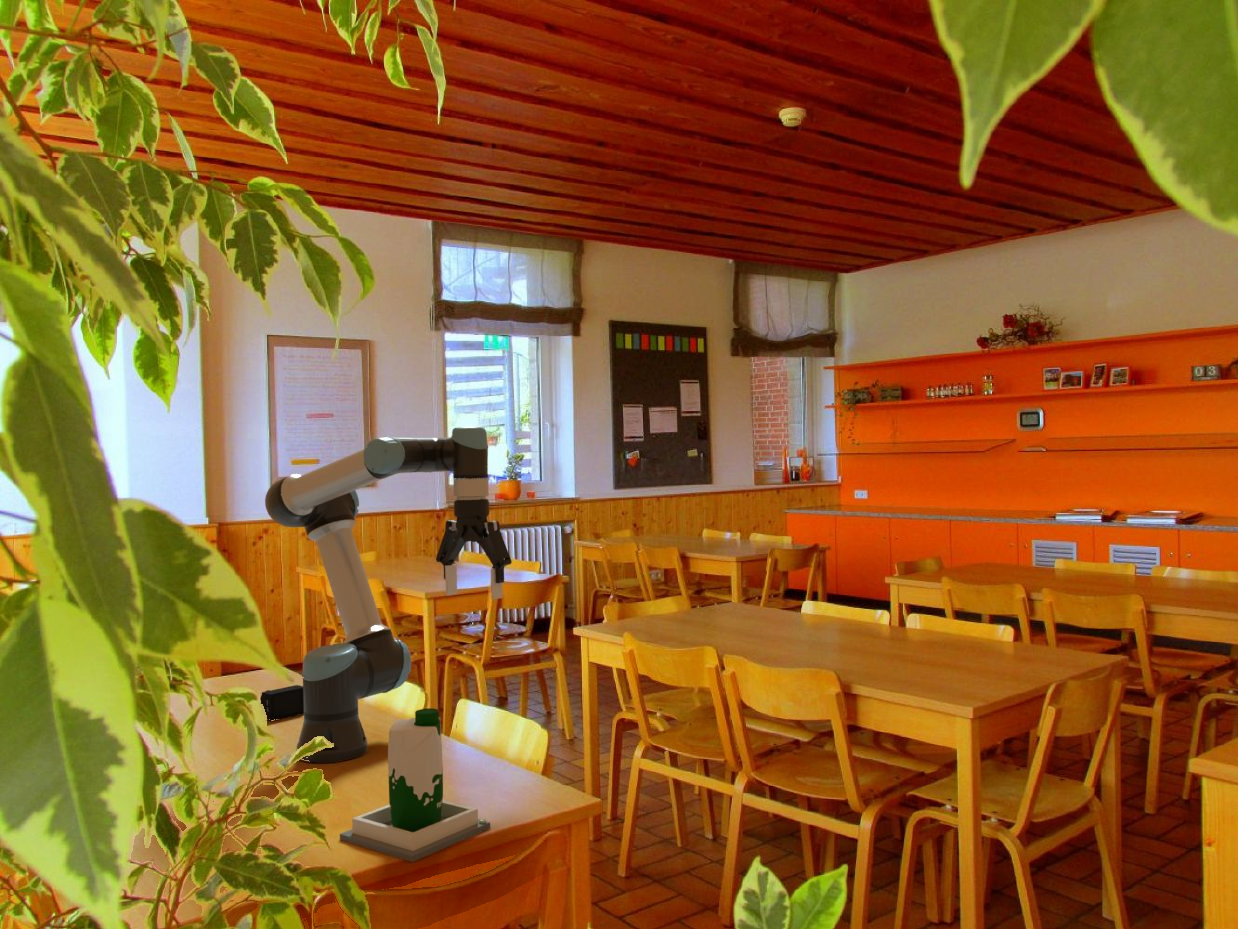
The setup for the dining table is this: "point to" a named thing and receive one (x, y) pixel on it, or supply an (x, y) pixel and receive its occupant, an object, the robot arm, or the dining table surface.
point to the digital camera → (283, 702)
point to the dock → (413, 846)
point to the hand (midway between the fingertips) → (473, 596)
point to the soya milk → (415, 771)
